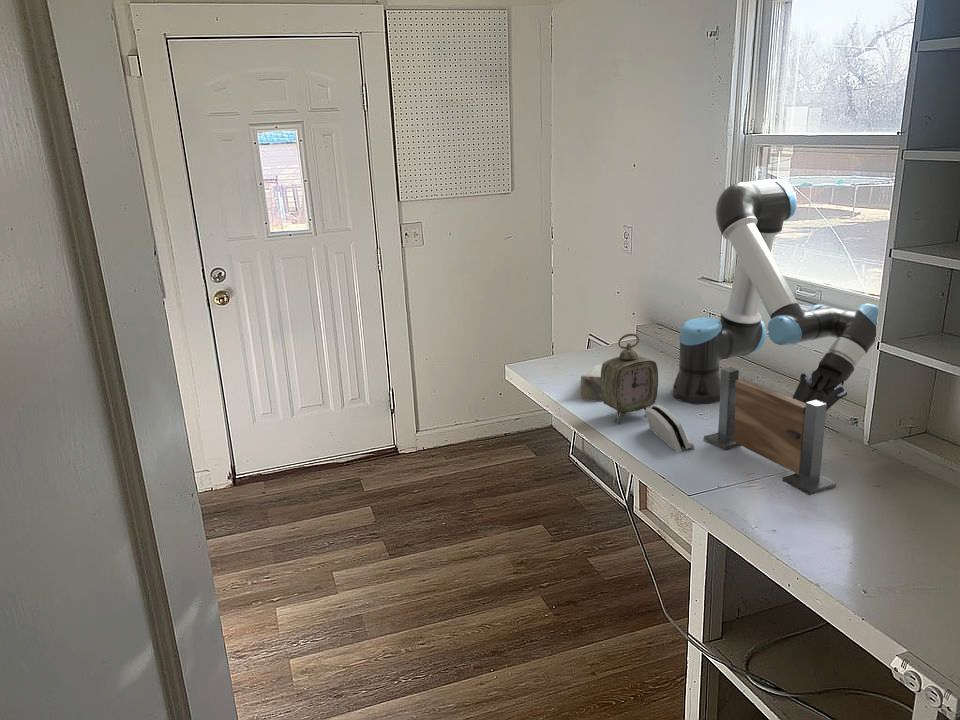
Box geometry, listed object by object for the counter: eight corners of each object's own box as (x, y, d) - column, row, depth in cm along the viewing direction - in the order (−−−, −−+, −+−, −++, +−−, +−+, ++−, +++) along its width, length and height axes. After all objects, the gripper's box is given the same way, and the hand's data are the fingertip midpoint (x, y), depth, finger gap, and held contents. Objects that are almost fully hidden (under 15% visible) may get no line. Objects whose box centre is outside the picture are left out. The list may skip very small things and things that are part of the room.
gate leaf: (739, 440, 193) (743, 378, 188) (805, 472, 174) (811, 405, 169) (729, 442, 192) (733, 381, 186) (794, 475, 173) (800, 408, 168)
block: (595, 380, 247) (595, 357, 245) (619, 382, 244) (619, 359, 242) (580, 399, 231) (579, 375, 228) (605, 402, 228) (606, 378, 225)
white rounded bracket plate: (696, 450, 192) (685, 417, 188) (679, 458, 192) (668, 426, 188) (666, 426, 208) (655, 396, 204) (651, 433, 207) (640, 403, 204)
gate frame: (727, 433, 201) (731, 362, 195) (836, 487, 170) (844, 405, 164) (703, 439, 198) (706, 368, 192) (809, 495, 167) (817, 412, 161)
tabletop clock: (615, 427, 209) (616, 341, 201) (597, 417, 216) (597, 334, 209) (657, 416, 214) (659, 333, 207) (638, 407, 222) (639, 326, 215)
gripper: (870, 375, 180) (813, 454, 179) (826, 361, 191) (772, 435, 190) (856, 358, 176) (798, 438, 175) (812, 345, 188) (757, 420, 187)
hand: (785, 436), depth 183 cm, fingers closed
